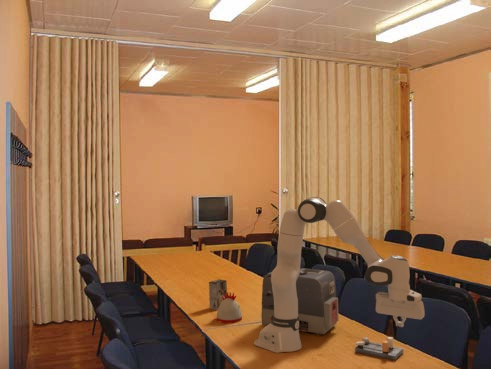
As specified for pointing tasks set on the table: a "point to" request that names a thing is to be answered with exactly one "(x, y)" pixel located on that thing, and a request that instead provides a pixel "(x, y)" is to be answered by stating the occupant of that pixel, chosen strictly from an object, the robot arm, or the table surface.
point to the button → (366, 340)
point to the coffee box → (217, 293)
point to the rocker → (360, 343)
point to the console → (379, 351)
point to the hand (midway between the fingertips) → (399, 326)
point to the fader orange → (385, 346)
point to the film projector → (307, 300)
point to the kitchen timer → (229, 310)
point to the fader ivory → (390, 341)
